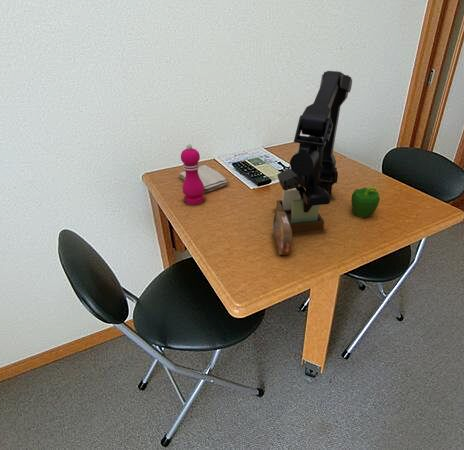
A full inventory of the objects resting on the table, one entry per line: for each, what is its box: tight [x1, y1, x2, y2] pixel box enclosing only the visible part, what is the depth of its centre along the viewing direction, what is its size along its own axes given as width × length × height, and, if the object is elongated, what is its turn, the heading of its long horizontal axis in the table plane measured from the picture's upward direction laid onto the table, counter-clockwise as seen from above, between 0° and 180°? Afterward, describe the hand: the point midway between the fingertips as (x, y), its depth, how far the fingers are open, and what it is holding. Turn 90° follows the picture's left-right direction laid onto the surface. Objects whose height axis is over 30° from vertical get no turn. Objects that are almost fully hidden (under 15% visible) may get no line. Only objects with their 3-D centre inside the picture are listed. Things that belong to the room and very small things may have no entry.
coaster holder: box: [275, 199, 325, 235], centre depth 105 cm, size 14×11×4 cm
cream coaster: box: [281, 188, 301, 210], centre depth 108 cm, size 1×8×8 cm, turn 100°
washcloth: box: [178, 165, 229, 195], centre depth 127 cm, size 12×18×3 cm, turn 39°
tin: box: [272, 210, 293, 256], centre depth 93 cm, size 15×3×8 cm, turn 5°
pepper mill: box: [180, 143, 205, 206], centre depth 111 cm, size 7×7×20 cm
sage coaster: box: [291, 199, 320, 223], centre depth 98 cm, size 1×8×8 cm, turn 100°
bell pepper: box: [350, 186, 381, 219], centre depth 107 cm, size 8×8×10 cm
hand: (305, 211), depth 98 cm, fingers closed on sage coaster, 1 cm apart
